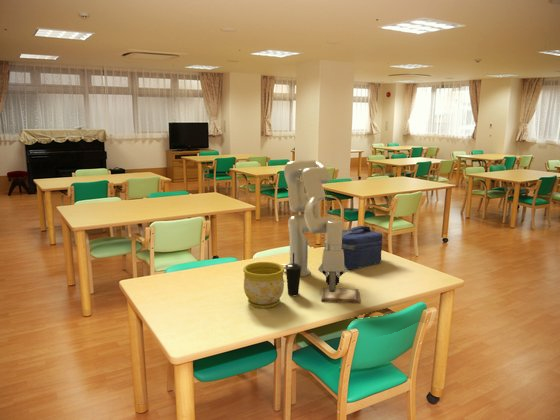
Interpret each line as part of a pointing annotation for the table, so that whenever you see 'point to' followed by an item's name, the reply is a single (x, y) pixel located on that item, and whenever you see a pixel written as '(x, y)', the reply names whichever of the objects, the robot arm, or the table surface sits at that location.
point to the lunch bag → (361, 247)
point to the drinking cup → (293, 277)
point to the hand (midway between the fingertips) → (332, 284)
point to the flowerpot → (263, 283)
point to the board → (341, 295)
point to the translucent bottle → (332, 281)
